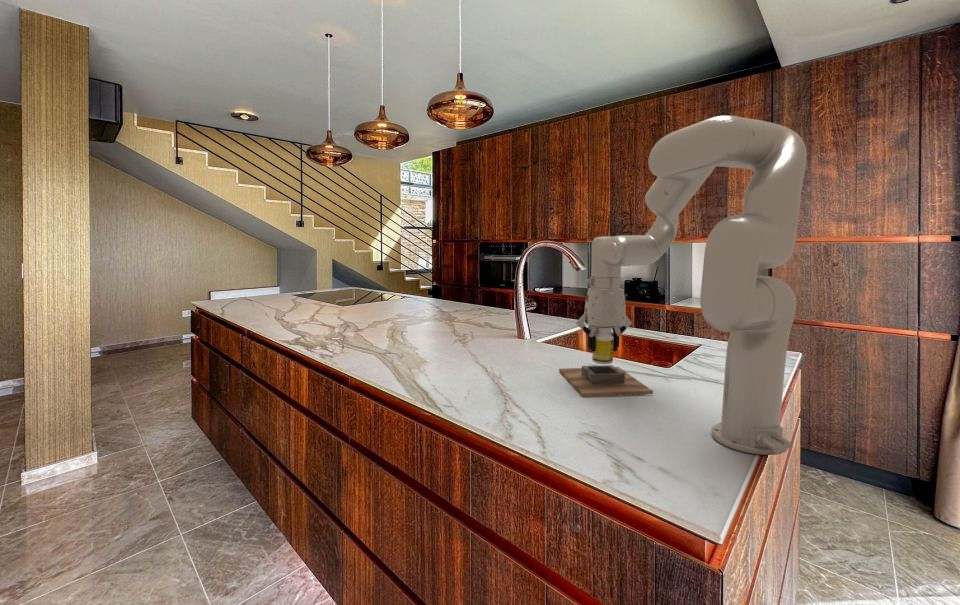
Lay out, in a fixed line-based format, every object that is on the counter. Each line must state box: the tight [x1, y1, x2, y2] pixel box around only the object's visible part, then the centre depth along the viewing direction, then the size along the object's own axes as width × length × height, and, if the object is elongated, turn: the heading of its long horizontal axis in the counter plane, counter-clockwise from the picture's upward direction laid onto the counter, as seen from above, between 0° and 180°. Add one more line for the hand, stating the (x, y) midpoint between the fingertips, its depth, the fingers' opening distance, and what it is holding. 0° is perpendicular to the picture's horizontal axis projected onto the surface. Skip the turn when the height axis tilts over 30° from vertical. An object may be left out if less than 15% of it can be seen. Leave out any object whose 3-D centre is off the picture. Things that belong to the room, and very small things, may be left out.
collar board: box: [558, 364, 654, 398], centre depth 122 cm, size 22×18×4 cm
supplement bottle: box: [591, 327, 614, 365], centre depth 121 cm, size 5×5×10 cm
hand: (603, 349), depth 121 cm, fingers closed on supplement bottle, 5 cm apart
